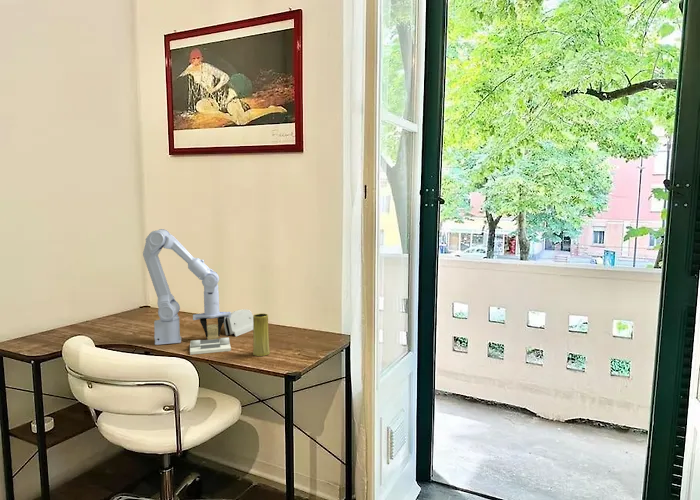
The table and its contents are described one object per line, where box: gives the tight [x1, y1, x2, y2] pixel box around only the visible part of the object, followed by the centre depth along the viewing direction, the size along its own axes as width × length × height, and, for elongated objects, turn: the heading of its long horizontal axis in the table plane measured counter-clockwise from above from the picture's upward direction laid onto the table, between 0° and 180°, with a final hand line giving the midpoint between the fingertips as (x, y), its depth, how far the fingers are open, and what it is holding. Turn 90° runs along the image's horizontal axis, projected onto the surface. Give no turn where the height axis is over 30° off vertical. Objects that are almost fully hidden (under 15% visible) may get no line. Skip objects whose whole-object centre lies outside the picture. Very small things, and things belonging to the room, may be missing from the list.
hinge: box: [223, 308, 254, 337], centre depth 211 cm, size 17×5×10 cm, turn 155°
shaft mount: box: [189, 336, 232, 356], centre depth 187 cm, size 14×12×3 cm
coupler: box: [206, 323, 219, 340], centre depth 197 cm, size 6×4×6 cm
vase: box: [252, 313, 271, 357], centre depth 179 cm, size 6×6×14 cm
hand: (212, 336), depth 198 cm, fingers closed on coupler, 4 cm apart
